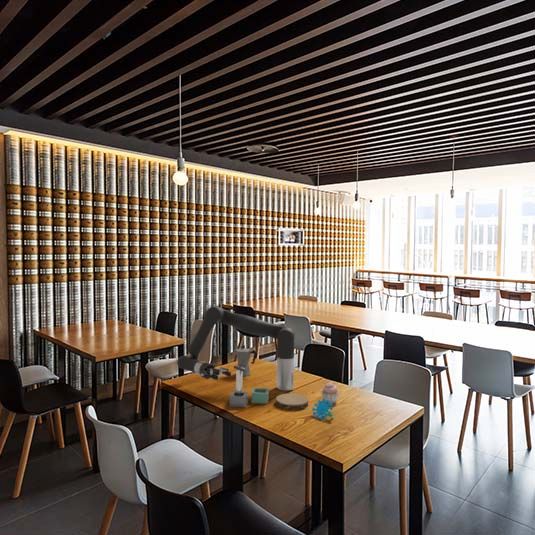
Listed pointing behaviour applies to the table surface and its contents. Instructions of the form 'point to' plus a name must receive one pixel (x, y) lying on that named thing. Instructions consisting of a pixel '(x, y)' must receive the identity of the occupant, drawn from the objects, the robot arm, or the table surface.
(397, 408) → the table surface
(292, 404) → the wood slice
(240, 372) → the chuck key
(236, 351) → the coffeepot
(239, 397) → the chuck block
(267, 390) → the key holder
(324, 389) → the cupcake
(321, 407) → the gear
